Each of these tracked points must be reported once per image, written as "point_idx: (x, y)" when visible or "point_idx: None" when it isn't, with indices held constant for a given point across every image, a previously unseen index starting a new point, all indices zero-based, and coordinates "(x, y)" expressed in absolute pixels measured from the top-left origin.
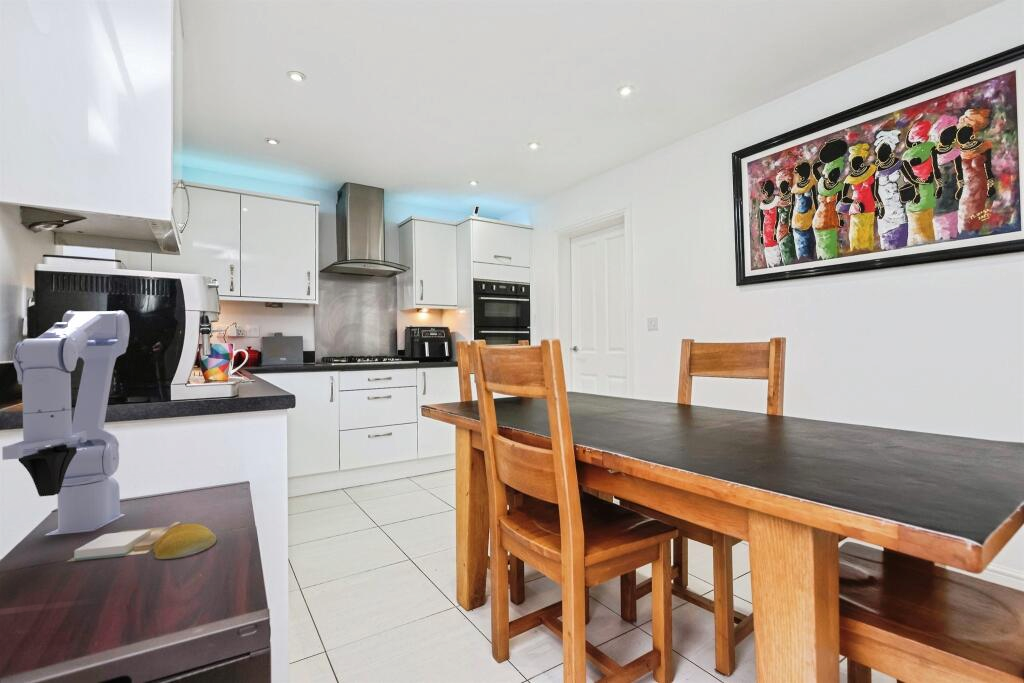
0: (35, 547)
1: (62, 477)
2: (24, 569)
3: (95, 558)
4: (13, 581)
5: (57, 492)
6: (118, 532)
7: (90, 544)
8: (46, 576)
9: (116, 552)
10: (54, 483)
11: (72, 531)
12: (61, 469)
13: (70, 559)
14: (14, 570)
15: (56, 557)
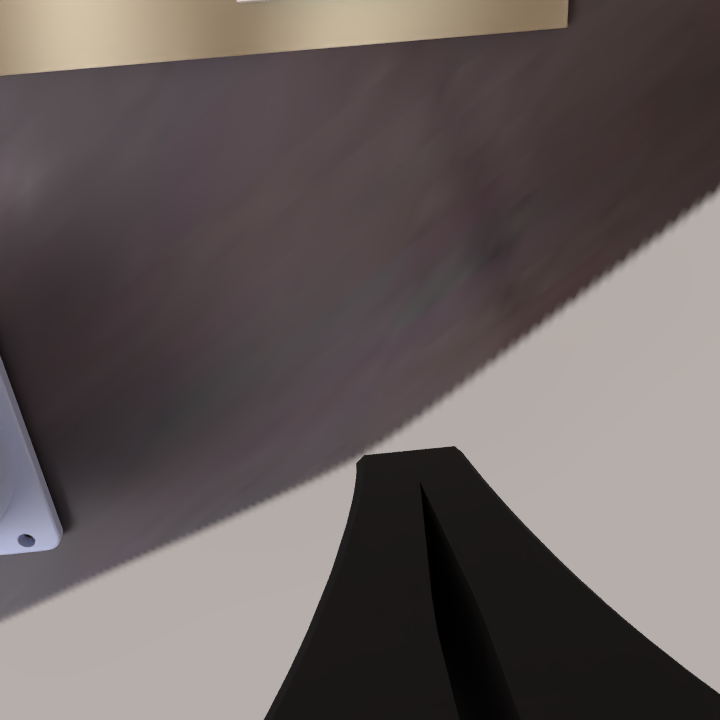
0: (198, 473)
1: (378, 568)
2: (533, 265)
3: None
4: (704, 181)
5: (401, 459)
6: (16, 69)
7: None
8: (707, 24)
9: None
10: (518, 523)
11: (5, 436)
12: (443, 688)
13: (535, 26)
14: (530, 310)
15: (385, 221)
